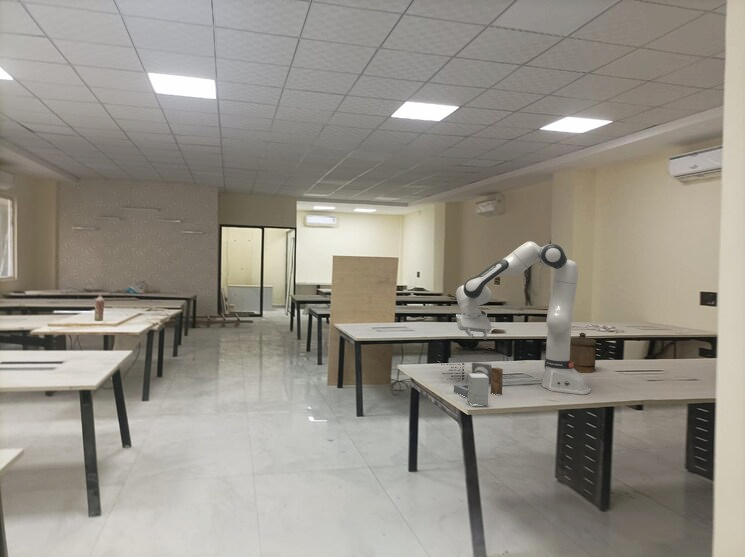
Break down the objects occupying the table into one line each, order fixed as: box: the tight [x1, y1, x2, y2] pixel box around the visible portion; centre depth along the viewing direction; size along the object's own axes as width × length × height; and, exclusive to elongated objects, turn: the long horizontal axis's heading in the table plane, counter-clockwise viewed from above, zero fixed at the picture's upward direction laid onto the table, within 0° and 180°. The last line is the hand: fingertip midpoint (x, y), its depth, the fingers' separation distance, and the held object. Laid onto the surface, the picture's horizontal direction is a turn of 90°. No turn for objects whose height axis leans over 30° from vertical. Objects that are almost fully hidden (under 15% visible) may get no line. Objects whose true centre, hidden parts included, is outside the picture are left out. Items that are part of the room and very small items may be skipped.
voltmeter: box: [440, 362, 493, 384], centre depth 242 cm, size 27×11×10 cm, turn 99°
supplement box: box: [467, 372, 490, 406], centre depth 207 cm, size 7×7×13 cm
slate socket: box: [453, 383, 468, 398], centre depth 222 cm, size 10×10×4 cm
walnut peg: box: [490, 367, 504, 396], centre depth 224 cm, size 4×4×12 cm
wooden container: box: [570, 332, 597, 374], centre depth 279 cm, size 15×15×22 cm
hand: (478, 338), depth 239 cm, fingers open, 8 cm apart
